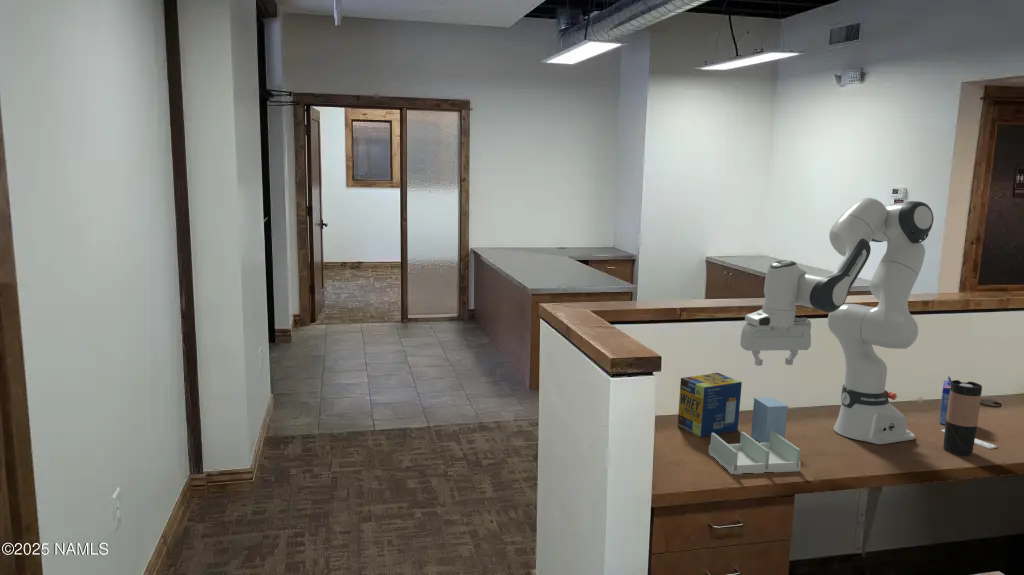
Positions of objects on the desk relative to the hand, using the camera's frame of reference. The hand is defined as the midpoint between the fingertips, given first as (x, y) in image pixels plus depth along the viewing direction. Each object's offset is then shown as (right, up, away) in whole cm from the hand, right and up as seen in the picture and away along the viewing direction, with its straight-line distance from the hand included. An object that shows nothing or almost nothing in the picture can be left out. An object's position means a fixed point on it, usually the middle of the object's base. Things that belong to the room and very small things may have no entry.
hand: (773, 364), depth 206 cm
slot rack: (-10, -25, -12) cm, 29 cm away
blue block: (-1, -23, +4) cm, 23 cm away
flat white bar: (+63, -24, +10) cm, 68 cm away
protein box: (-15, -21, +13) cm, 29 cm away
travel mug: (+53, -25, 0) cm, 58 cm away
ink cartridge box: (+66, -21, +25) cm, 74 cm away
